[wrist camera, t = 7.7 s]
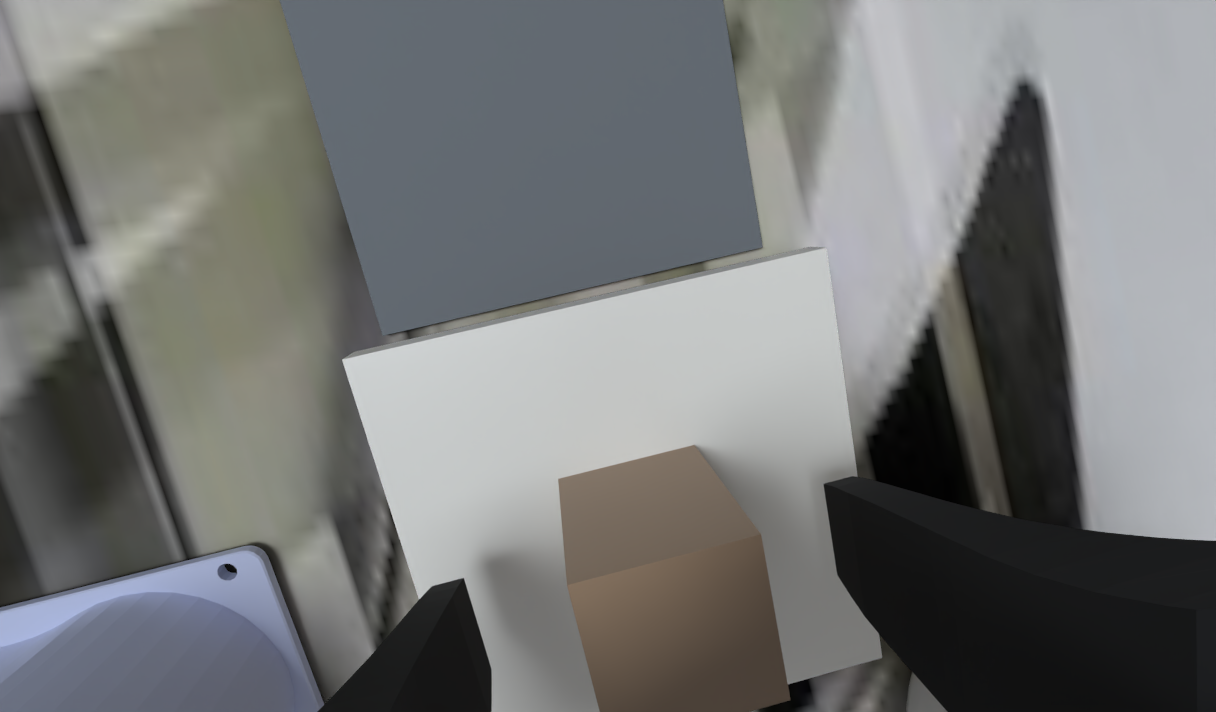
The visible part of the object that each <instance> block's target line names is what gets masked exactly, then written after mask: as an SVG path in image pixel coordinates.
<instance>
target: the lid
mask: <svg viewBox="0 0 1216 712" xmlns="http://www.w3.org/2000/svg"><path fill="white" fill-rule="evenodd" d="M342 361H343V364H344V367H345V370H346V373H347V377H348V380H349V383H350V386H351V389H352V392H353V395H354V398H355V401H356V405H357V408H358V411H359V414H360V417H361V420H362V423H363V426H364V429H365V433H366V436H367V439H368V442H369V445H370V448H371V451H372V454H373V457H374V461H375V464H376V467H377V470H378V473H379V476H380V479H381V482H382V485H383V489H384V492H385V495H386V498H387V501H388V504H389V507H390V510H391V513H392V517H393V520H394V523H395V526H396V529H397V532H398V535H399V538H400V541H401V545H402V548H403V551H404V554H405V557H406V560H407V563H408V566H409V569H410V573H411V576H412V579H413V582H414V585H415V588H416V591H417V594H418V598H419V599H420V598H421V597H422V596H423V595H424V594H425V593H426V592H427V591H428V590H429V589H430V588H431V587H432V586H434V585H438V584H442V583H446V582H450V581H454V580H457V579H461V578H464V580H465V583H466V587H467V590H468V593H469V597H470V600H471V603H472V606H473V610H474V613H475V616H476V620H477V623H478V626H479V629H480V633H481V636H482V639H483V643H484V646H485V649H486V652H487V656H488V659H489V662H490V666H491V669H492V711H491V712H750V711H753V710H757V709H760V708H764V707H768V706H771V705H775V704H778V703H782V702H785V701H789V700H790V694H789V689H788V684H791V683H795V682H798V681H802V680H805V679H809V678H812V677H816V676H820V675H823V674H827V673H830V672H834V671H837V670H841V669H845V668H848V667H852V666H855V665H859V664H862V663H866V662H870V661H873V660H877V659H880V658H882V652H881V645H880V638H879V633H878V632H877V631H876V630H875V628H874V627H873V626H872V625H871V624H870V622H869V621H868V620H867V619H866V618H865V616H864V615H863V613H862V612H861V610H860V609H859V607H858V606H857V605H856V603H855V602H854V600H853V599H852V597H851V596H850V594H849V593H848V591H847V589H846V588H845V586H844V585H843V583H842V582H841V580H840V578H839V577H838V575H837V570H836V564H835V557H834V550H833V544H832V537H831V531H830V524H829V518H828V511H827V505H826V498H825V492H824V485H823V484H824V483H828V482H832V481H836V480H840V479H843V478H847V477H851V476H855V477H858V476H857V468H856V461H855V453H854V446H853V439H852V431H851V424H850V417H849V409H848V402H847V395H846V387H845V380H844V372H843V365H842V358H841V350H840V343H839V336H838V328H837V321H836V313H835V306H834V299H833V291H832V284H831V277H830V269H829V262H828V254H827V248H822V247H807V248H803V249H799V250H794V251H790V252H786V253H781V254H777V255H773V256H768V257H764V258H760V259H755V260H751V261H747V262H742V263H738V264H734V265H729V266H725V267H721V268H716V269H712V270H708V271H703V272H699V273H695V274H690V275H686V276H682V277H677V278H673V279H669V280H664V281H660V282H655V283H651V284H647V285H642V286H638V287H634V288H629V289H625V290H621V291H616V292H612V293H608V294H603V295H599V296H595V297H590V298H586V299H582V300H577V301H573V302H569V303H564V304H560V305H556V306H551V307H547V308H543V309H538V310H534V311H530V312H525V313H521V314H517V315H512V316H508V317H504V318H499V319H495V320H491V321H486V322H482V323H478V324H473V325H469V326H465V327H460V328H456V329H452V330H447V331H443V332H439V333H434V334H430V335H426V336H421V337H417V338H413V339H408V340H404V341H400V342H395V343H391V344H387V345H382V346H378V347H374V348H369V349H365V350H361V351H356V352H353V353H352V354H350V355H349V356H347V357H345V358H344V359H342Z"/></svg>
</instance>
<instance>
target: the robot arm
mask: <svg viewBox="0 0 1216 712" xmlns="http://www.w3.org/2000/svg"><path fill="white" fill-rule="evenodd" d="M823 485H824V492H825V498H826V505H827V511H828V518H829V524H830V531H831V537H832V544H833V550H834V557H835V564H836V570H837V575H838V577H839V578H840V580H841V582H842V583H843V585H844V586H845V588H846V589H847V591H848V593H849V594H850V596H851V597H852V599H853V600H854V602H855V603H856V605H857V606H858V607H859V609H860V610H861V612H862V613H863V615H864V616H865V618H866V619H867V620H868V621H869V622H870V624H871V625H872V626H873V627H874V628H875V630H876V631H877V632H878V633H879V634H880V635H881V637H882V638H883V639H884V640H885V641H886V642H887V643H888V645H889V646H890V647H891V648H892V649H893V650H894V652H895V653H896V654H897V655H898V656H899V657H900V658H901V660H902V661H903V662H904V663H905V664H906V665H907V666H908V667H909V669H910V670H911V671H912V672H913V673H914V674H915V675H916V677H917V678H918V679H919V680H920V681H921V682H922V683H923V685H924V686H925V687H926V688H927V689H928V690H929V691H930V693H931V694H932V695H933V696H934V697H935V698H936V699H937V701H938V702H939V703H940V704H941V705H942V706H943V707H944V708H945V710H946V711H947V712H1216V541H1203V540H1184V539H1168V538H1154V537H1144V536H1134V535H1124V534H1114V533H1105V532H1097V531H1089V530H1082V529H1075V528H1069V527H1063V526H1057V525H1051V524H1045V523H1039V522H1033V521H1028V520H1023V519H1018V518H1013V517H1009V516H1005V515H1000V514H996V513H992V512H987V511H983V510H979V509H975V508H971V507H967V506H963V505H959V504H955V503H952V502H948V501H944V500H941V499H937V498H934V497H930V496H927V495H923V494H920V493H916V492H913V491H909V490H906V489H902V488H899V487H895V486H892V485H888V484H885V483H881V482H878V481H874V480H870V479H866V478H861V477H855V476H851V477H847V478H843V479H840V480H836V481H832V482H828V483H824V484H823ZM225 564H231V565H233V566H234V567H235V568H236V569H237V573H231V572H229V571H227V569H226V568H225ZM491 711H492V669H491V666H490V662H489V659H488V656H487V652H486V649H485V646H484V643H483V639H482V636H481V633H480V629H479V626H478V623H477V620H476V616H475V613H474V610H473V606H472V603H471V600H470V597H469V593H468V590H467V587H466V583H465V580H464V578H461V579H457V580H454V581H450V582H446V583H442V584H438V585H434V586H432V587H431V588H430V589H429V590H428V591H427V592H426V593H425V594H424V595H423V596H422V597H421V598H420V599H419V601H418V602H417V603H416V604H415V605H414V606H413V608H412V609H411V610H410V611H409V612H408V613H407V615H406V616H405V617H404V618H403V619H402V621H401V622H400V623H399V624H398V625H397V626H396V628H395V629H394V630H393V631H392V632H391V633H390V635H389V636H388V637H387V638H386V639H385V640H384V641H383V643H382V644H381V645H380V646H379V647H378V648H377V650H376V651H375V652H374V653H373V654H372V655H371V656H370V657H369V659H368V660H367V661H366V662H365V663H364V664H363V665H362V666H361V667H360V668H359V669H358V670H357V671H356V672H355V673H354V674H353V676H352V677H351V678H350V679H349V680H348V681H347V682H346V683H345V684H344V685H343V686H342V687H341V688H340V689H339V690H338V691H337V693H336V694H335V695H334V696H333V697H332V698H331V699H330V700H329V701H328V702H327V703H326V704H325V705H324V702H323V700H322V697H321V695H320V692H319V689H318V687H317V684H316V681H315V679H314V676H313V674H312V671H311V668H310V666H309V663H308V660H307V658H306V655H305V653H304V650H303V647H302V645H301V642H300V639H299V637H298V634H297V632H296V629H295V626H294V624H293V621H292V618H291V616H290V613H289V611H288V608H287V605H286V603H285V600H284V597H283V595H282V592H281V589H280V587H279V584H278V582H277V579H276V576H275V574H274V571H273V568H272V566H271V563H270V561H269V558H268V556H267V554H266V553H265V551H263V550H262V549H261V548H259V547H256V546H252V545H251V546H242V547H239V548H235V549H231V550H227V551H223V552H219V553H215V554H211V555H207V556H203V557H199V558H195V559H191V560H187V561H183V562H179V563H175V564H171V565H167V566H163V567H159V568H155V569H151V570H147V571H143V572H139V573H135V574H131V575H127V576H123V577H119V578H116V579H112V580H108V581H104V582H100V583H96V584H92V585H88V586H84V587H80V588H76V589H72V590H68V591H64V592H60V593H56V594H52V595H48V596H44V597H40V598H36V599H32V600H28V601H24V602H20V603H16V604H12V605H8V606H4V607H0V712H491Z"/></svg>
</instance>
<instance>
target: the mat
mask: <svg viewBox="0 0 1216 712" xmlns="http://www.w3.org/2000/svg"><path fill="white" fill-rule="evenodd" d="M280 3H281V6H282V9H283V12H284V16H285V19H286V22H287V25H288V29H289V32H290V35H291V38H292V42H293V45H294V48H295V51H296V55H297V58H298V61H299V65H300V68H301V71H302V74H303V78H304V81H305V84H306V87H307V91H308V94H309V97H310V100H311V104H312V107H313V110H314V113H315V117H316V120H317V123H318V126H319V130H320V133H321V136H322V139H323V143H324V146H325V149H326V152H327V156H328V159H329V162H330V165H331V169H332V172H333V175H334V178H335V182H336V185H337V188H338V191H339V195H340V198H341V201H342V205H343V208H344V211H345V214H346V218H347V221H348V224H349V227H350V231H351V234H352V237H353V240H354V244H355V247H356V250H357V253H358V257H359V260H360V263H361V266H362V270H363V273H364V276H365V279H366V283H367V286H368V289H369V292H370V296H371V299H372V302H373V305H374V309H375V312H376V315H377V318H378V322H379V325H380V328H381V332H382V335H383V336H384V335H388V334H393V333H397V332H401V331H405V330H410V329H414V328H418V327H423V326H427V325H431V324H436V323H440V322H444V321H448V320H453V319H457V318H461V317H466V316H470V315H474V314H478V313H483V312H487V311H491V310H496V309H500V308H504V307H509V306H513V305H517V304H521V303H526V302H530V301H534V300H539V299H543V298H547V297H551V296H556V295H560V294H564V293H569V292H573V291H577V290H582V289H586V288H590V287H594V286H599V285H603V284H607V283H612V282H616V281H620V280H624V279H629V278H633V277H637V276H642V275H646V274H650V273H655V272H659V271H663V270H667V269H672V268H676V267H680V266H685V265H689V264H693V263H697V262H702V261H706V260H710V259H715V258H719V257H723V256H728V255H732V254H736V253H740V252H745V251H749V250H753V249H758V248H762V247H763V246H762V240H761V234H760V228H759V222H758V216H757V209H756V203H755V197H754V191H753V185H752V178H751V172H750V166H749V160H748V154H747V148H746V141H745V135H744V129H743V123H742V117H741V110H740V104H739V98H738V92H737V86H736V80H735V73H734V67H733V61H732V55H731V49H730V42H729V36H728V30H727V24H726V18H725V12H724V5H723V0H280Z"/></svg>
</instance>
